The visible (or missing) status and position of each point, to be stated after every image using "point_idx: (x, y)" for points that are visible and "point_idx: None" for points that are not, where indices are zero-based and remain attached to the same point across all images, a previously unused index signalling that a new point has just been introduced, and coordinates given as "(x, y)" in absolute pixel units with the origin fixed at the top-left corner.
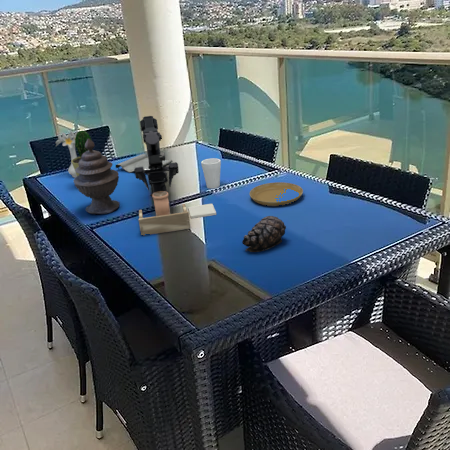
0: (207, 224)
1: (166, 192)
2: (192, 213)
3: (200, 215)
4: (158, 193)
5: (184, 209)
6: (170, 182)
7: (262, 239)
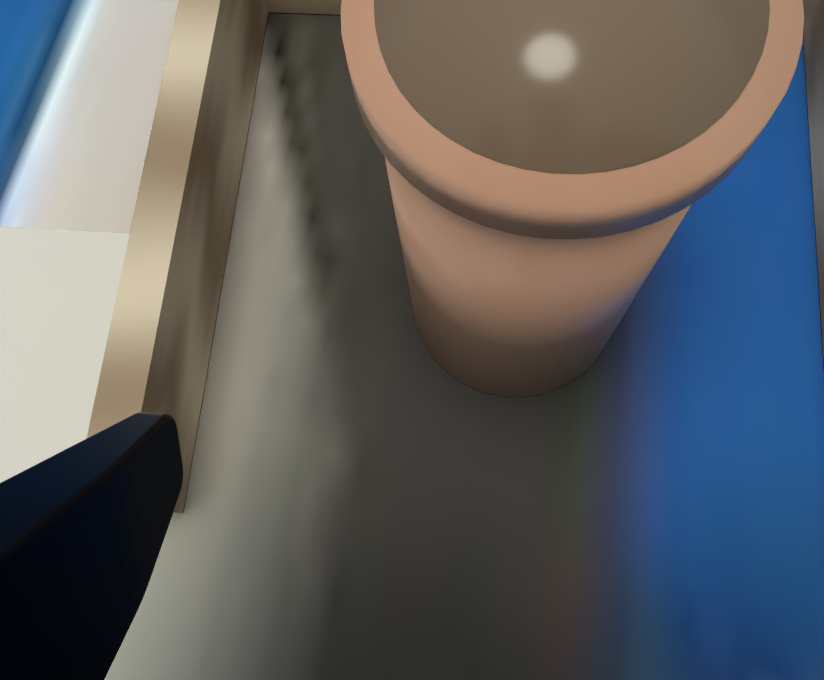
0: (30, 13)
1: (380, 28)
2: (80, 320)
3: (6, 230)
4: (615, 45)
5: (161, 233)
6: (54, 462)
7: None
